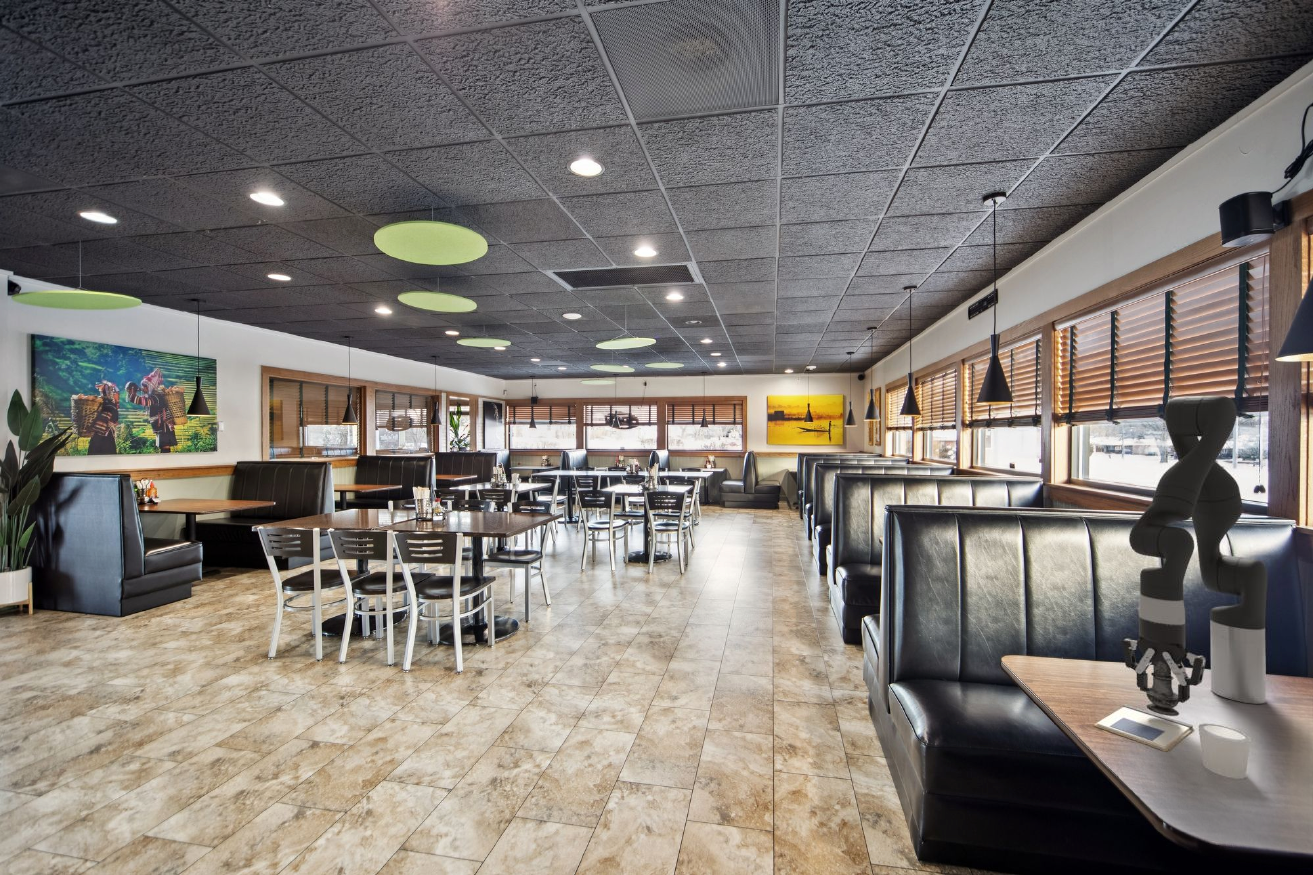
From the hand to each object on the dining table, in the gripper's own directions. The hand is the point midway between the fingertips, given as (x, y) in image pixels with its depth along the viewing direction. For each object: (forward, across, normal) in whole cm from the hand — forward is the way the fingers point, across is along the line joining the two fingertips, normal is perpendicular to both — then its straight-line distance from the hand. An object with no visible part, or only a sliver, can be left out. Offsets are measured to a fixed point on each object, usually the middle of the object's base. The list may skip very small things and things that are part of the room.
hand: (1162, 695), depth 123 cm
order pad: (+6, +1, +6) cm, 9 cm away
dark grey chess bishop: (+3, 0, 0) cm, 3 cm away
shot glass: (+6, -13, +13) cm, 19 cm away
